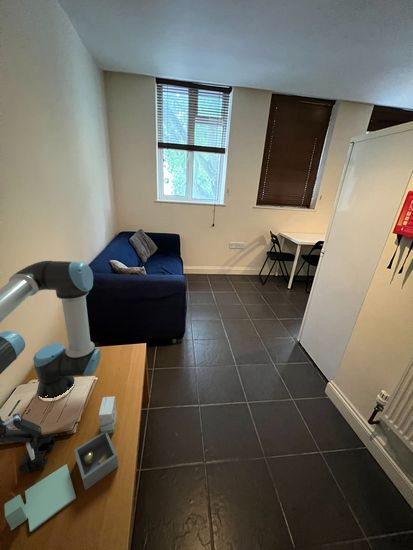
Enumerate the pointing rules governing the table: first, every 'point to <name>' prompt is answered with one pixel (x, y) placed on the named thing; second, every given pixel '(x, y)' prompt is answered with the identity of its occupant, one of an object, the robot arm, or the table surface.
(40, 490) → the lid
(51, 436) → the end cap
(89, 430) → the table surface
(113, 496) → the table surface
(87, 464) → the brass part
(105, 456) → the walnut part
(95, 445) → the tub
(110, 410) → the ink box
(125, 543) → the table surface
